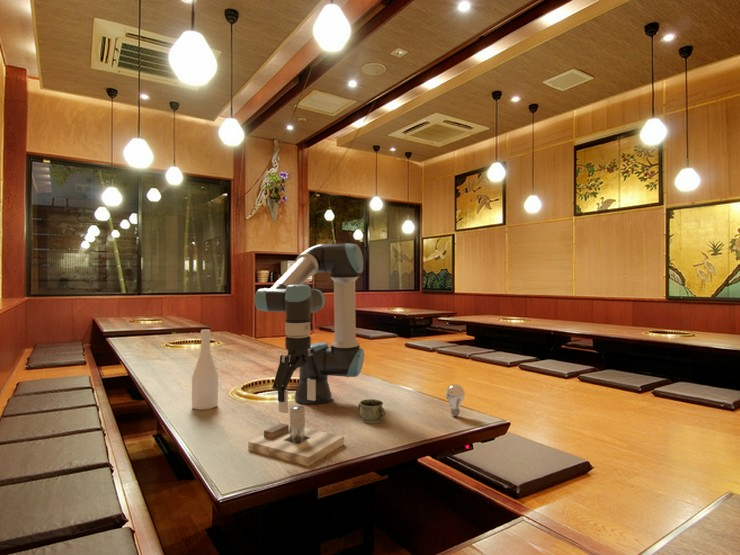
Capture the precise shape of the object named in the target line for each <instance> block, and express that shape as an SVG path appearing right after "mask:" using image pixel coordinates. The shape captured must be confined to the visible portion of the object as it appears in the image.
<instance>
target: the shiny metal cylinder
mask: <svg viewBox="0 0 740 555" xmlns="http://www.w3.org/2000/svg"><path fill="white" fill-rule="evenodd" d="M305 415H306V407H305V406H304V405H292V406H290V407H289V424H290V442H292V443H296V444H300V443H302V442H304V441H305V428H306V427H305V422H306V420H305V419H306V418H305Z"/></svg>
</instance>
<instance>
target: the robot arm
mask: <svg viewBox="0 0 740 555" xmlns="http://www.w3.org/2000/svg"><path fill="white" fill-rule="evenodd" d="M363 272H364V257H363V252H362V249H361V248H360V246H359V245H358V244H356V243H348V242H346V243H319V244H316V245H313V246H310V247H308V248H306V249H305V250H304V251H302V252H301V253H299V255H297V257H296V258H295V262H294V263H293V265H291V266H290V267H289V268H288V269H287V271H285V272H284V273H283V274H282V275H281V276H280V277H279V278H278V280H276V281H275V282H274V283H273V284H272V285H271V286H270V288H268V287H264V288H258V289H257V290H256V293H255V294H254V304H255V308H256V309H257V310H258V311H261V312H274V313H285V322H284V323H285V326H284V327H285V328H284V329H285V330H284V331H285V332H284V333H285V335H286V336H285V338H284V339H285V342H284V343H285V345H284V346H285V347H284V348H285V350H287V355H285V354H284V355H283V354H280V356H279V364H278V367H277V371H276V374H275V376H274V380H273V384H272V386H271V387H272V390H276V391H277V401H278V412H279V413H282V414H283V413H284V414H288V412H289V410H288V409H289V404H288V403H289V401H288V400H289V391H288V389H287V387H288V385H289V384H290V381H291V379H292V376H293V374H294V373H295V371H296V370H297V369H299V375H298V376H299V379H298V380H299V381H298V385H297V387H296V390H295V394H294V401H295V402H297V403H298V404H304V405H321V404H326V403H328V402H331V401H332V397H333V396H332V392H331V389H330V384H329V382H328V381H329V380H328V377H330V376H331V377H332V376H333V377H345V378H356V377H358V376H359V375H360V373H361V372H362V369H363V366H364V360H365V350H364V348H362V347H360V342H359V341H358V340H357V339H356V338H357V337H356V332H357V330H356V329H357V327H356V326H357V324H356V319H357V318H356V281H357V280H358V279H359V278H360V274H362V273H363ZM317 273H329V278H330V279H331V280H332V282H333V308H334V309H333V311H334V314H333V315H334V339H333V341H332V342H331V343H330V346H329V344H328V343H327V342H315V343H314V342H313V343H311V341H312V339H311V318H312V317H311V314H312V313H316V312H318V311H321V309H323V307H324V306H325V303H326V296H325V294H324V293H323V292H322V291H321V290H320V289H316V288H311V286H310V285H309V284H304V283H305V282H306V281H307V280H308V279H309V278H310V277H312V276H314V275H315V274H317Z"/></svg>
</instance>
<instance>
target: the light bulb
mask: <svg viewBox="0 0 740 555" xmlns="http://www.w3.org/2000/svg"><path fill="white" fill-rule="evenodd" d="M445 397H446V399H447V401H448V403H449V407H450V415H452V417H454V418H457V417H458V416H459V415H460V408H461V405H462V402H463V401H464V399H465V390H464V387H462V386H461V385H460V384H457V383H453V384H450V385H449V386H447V388H446V390H445Z"/></svg>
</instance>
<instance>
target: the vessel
mask: <svg viewBox="0 0 740 555" xmlns="http://www.w3.org/2000/svg"><path fill="white" fill-rule="evenodd" d="M383 405H384V402H383V401H382V400H379V399H372V398H371V399H363V400H360V401H359V403H358V406H357V410H358V413H359V415H360V416H361V418H360V421H361V422H363V423H366V424H376V423H380V422H382V421H384V418H385V416H386V411H385V410H386V409H385V408H384V407H383Z"/></svg>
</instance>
